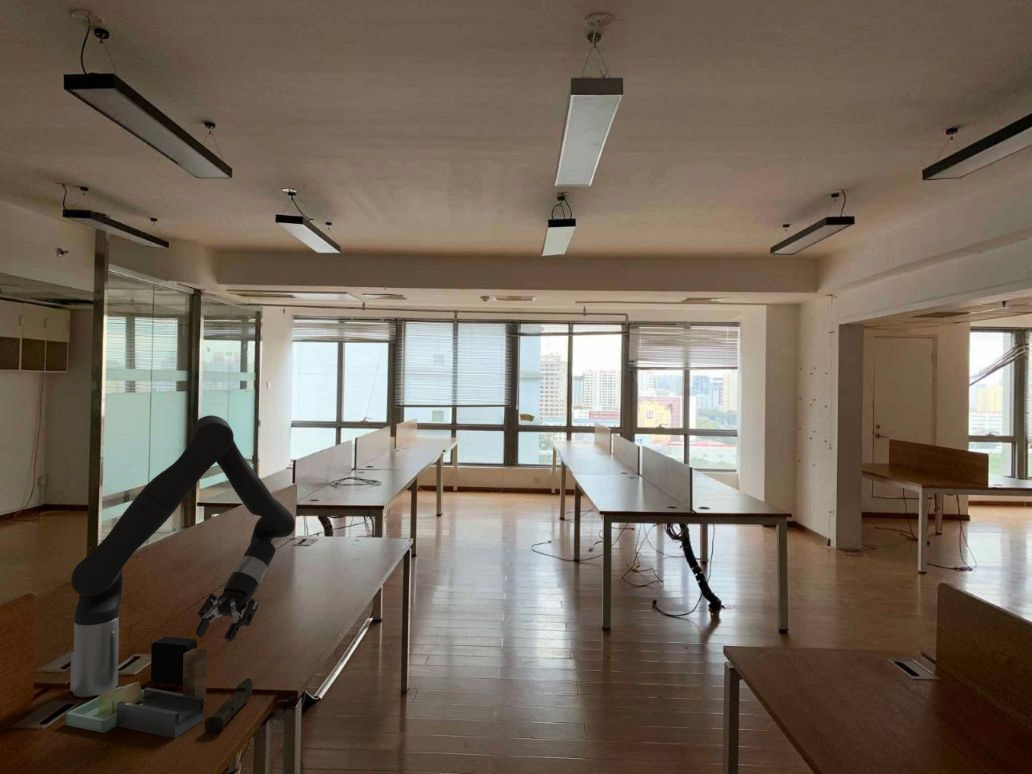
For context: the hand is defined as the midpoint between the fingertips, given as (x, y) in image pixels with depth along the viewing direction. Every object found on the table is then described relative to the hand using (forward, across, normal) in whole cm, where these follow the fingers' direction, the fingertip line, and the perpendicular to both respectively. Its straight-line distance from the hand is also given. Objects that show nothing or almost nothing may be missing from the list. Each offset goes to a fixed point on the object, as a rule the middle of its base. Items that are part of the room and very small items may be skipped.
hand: (212, 637), depth 158 cm
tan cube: (+19, -12, -3) cm, 22 cm away
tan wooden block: (+13, 0, +6) cm, 14 cm away
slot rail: (+20, 0, -2) cm, 20 cm away
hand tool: (+14, +11, +5) cm, 19 cm away
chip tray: (+20, -13, -2) cm, 25 cm away
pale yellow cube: (+18, -9, -3) cm, 21 cm away
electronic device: (+8, -14, +11) cm, 20 cm away
